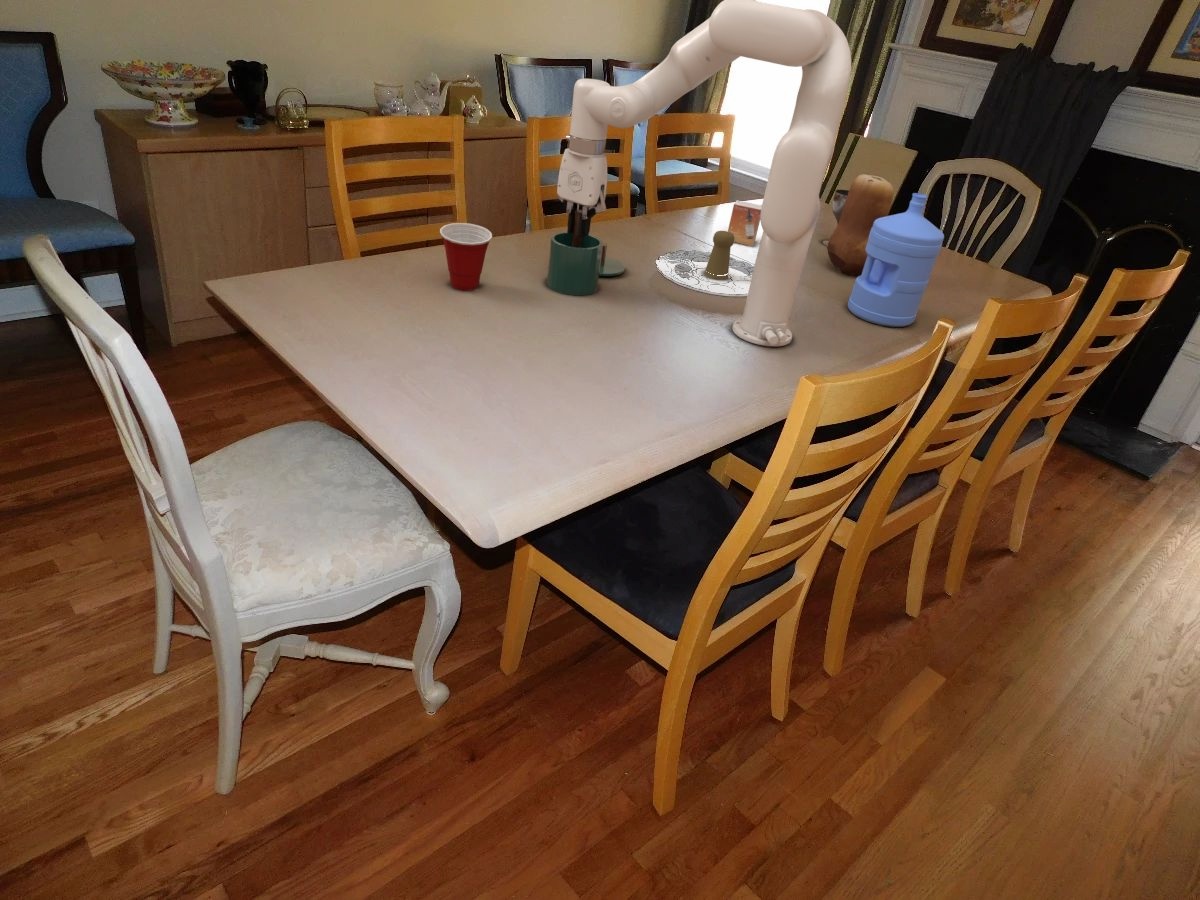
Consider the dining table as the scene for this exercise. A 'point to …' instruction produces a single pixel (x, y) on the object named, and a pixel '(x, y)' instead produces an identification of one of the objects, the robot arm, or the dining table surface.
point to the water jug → (896, 267)
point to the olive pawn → (720, 255)
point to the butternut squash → (859, 222)
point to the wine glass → (838, 205)
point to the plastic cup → (465, 253)
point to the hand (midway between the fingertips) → (578, 233)
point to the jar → (574, 264)
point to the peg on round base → (575, 239)
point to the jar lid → (609, 265)
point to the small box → (745, 222)
